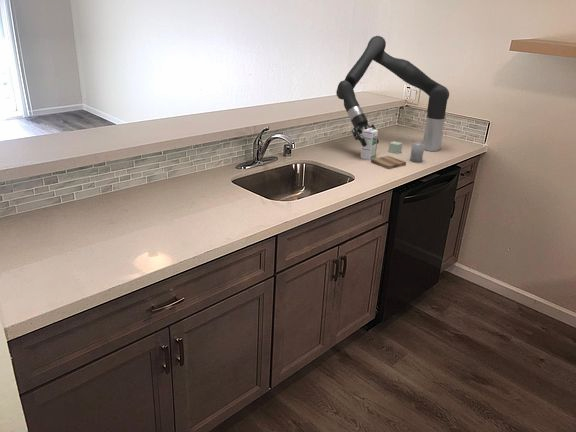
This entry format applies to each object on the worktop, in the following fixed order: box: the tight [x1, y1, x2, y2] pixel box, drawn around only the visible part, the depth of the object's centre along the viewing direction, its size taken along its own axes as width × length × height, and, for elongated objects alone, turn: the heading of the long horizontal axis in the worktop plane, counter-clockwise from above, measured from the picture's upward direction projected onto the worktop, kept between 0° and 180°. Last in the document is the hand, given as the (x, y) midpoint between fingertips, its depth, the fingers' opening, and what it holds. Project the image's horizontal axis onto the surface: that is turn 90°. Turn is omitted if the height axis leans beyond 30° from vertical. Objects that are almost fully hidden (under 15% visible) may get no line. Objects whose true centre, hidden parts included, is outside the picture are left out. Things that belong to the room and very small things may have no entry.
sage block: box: [388, 140, 403, 155], centre depth 252 cm, size 5×5×5 cm
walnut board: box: [370, 155, 407, 170], centre depth 234 cm, size 12×12×2 cm
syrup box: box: [360, 128, 379, 161], centre depth 239 cm, size 6×6×14 cm
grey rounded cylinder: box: [409, 141, 425, 164], centre depth 238 cm, size 6×6×9 cm
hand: (371, 144), depth 238 cm, fingers open, 8 cm apart
